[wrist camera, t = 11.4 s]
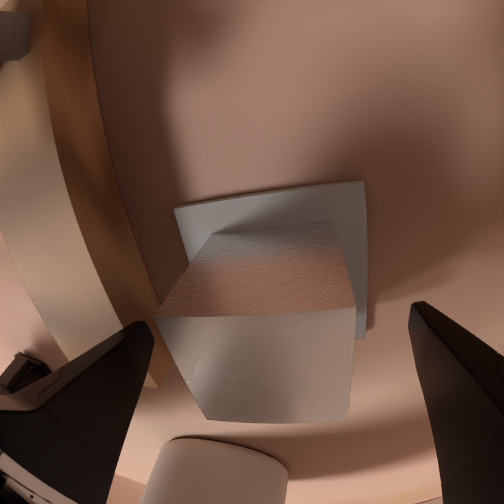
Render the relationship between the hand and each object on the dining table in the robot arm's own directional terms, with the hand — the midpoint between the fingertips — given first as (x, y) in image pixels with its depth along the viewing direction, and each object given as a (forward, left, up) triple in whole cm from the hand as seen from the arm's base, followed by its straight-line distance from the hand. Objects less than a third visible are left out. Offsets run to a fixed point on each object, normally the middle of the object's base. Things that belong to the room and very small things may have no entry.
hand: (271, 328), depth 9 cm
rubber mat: (0, 0, -3) cm, 3 cm away
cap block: (0, 0, -3) cm, 3 cm away
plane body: (+6, +9, -3) cm, 11 cm away
